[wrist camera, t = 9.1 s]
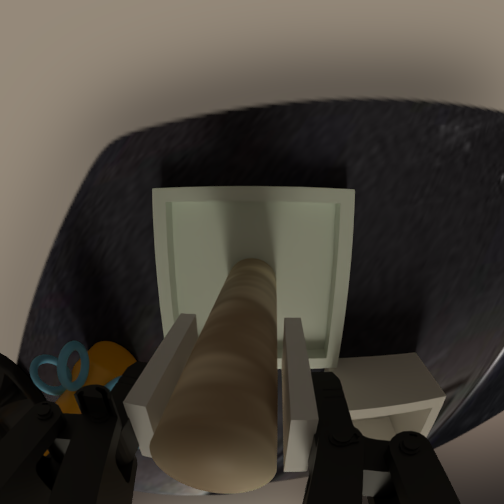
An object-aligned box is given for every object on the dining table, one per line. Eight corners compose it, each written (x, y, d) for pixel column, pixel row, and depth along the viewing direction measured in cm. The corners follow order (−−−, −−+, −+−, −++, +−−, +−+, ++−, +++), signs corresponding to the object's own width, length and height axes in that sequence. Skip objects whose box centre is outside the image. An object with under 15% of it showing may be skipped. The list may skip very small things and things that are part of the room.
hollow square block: (314, 426, 27) (321, 477, 20) (326, 358, 25) (340, 411, 18) (393, 418, 26) (411, 463, 19) (415, 352, 24) (446, 395, 17)
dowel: (228, 303, 23) (162, 483, 7) (227, 257, 22) (136, 414, 6) (275, 304, 22) (273, 496, 7) (276, 258, 22) (281, 430, 6)
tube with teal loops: (64, 303, 25) (-39, 379, 11) (155, 318, 25) (62, 437, 10) (88, 396, 28) (25, 480, 14) (168, 415, 28) (122, 527, 13)
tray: (175, 348, 25) (167, 361, 23) (163, 187, 22) (152, 188, 20) (332, 353, 24) (336, 367, 22) (347, 188, 21) (354, 189, 19)
